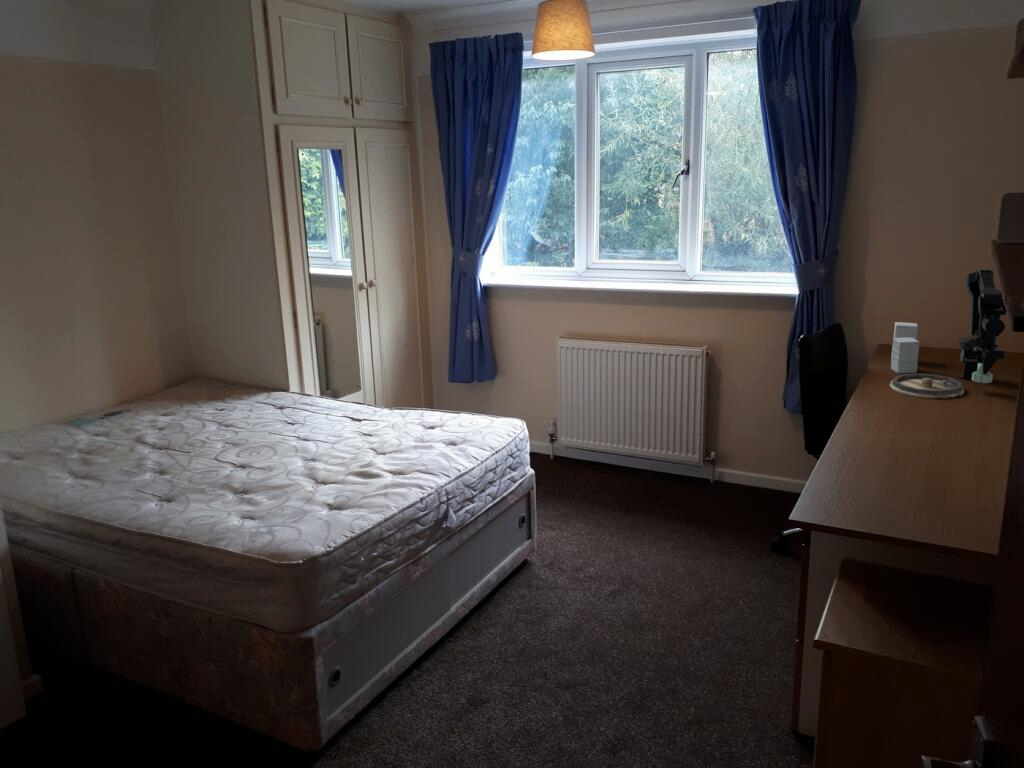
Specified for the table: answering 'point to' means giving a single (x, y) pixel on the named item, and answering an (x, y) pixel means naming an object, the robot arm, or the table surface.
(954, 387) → the carrier plate
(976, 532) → the table surface
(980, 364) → the pale green domed piece
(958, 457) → the table surface
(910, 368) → the supplement box
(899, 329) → the skincare box
